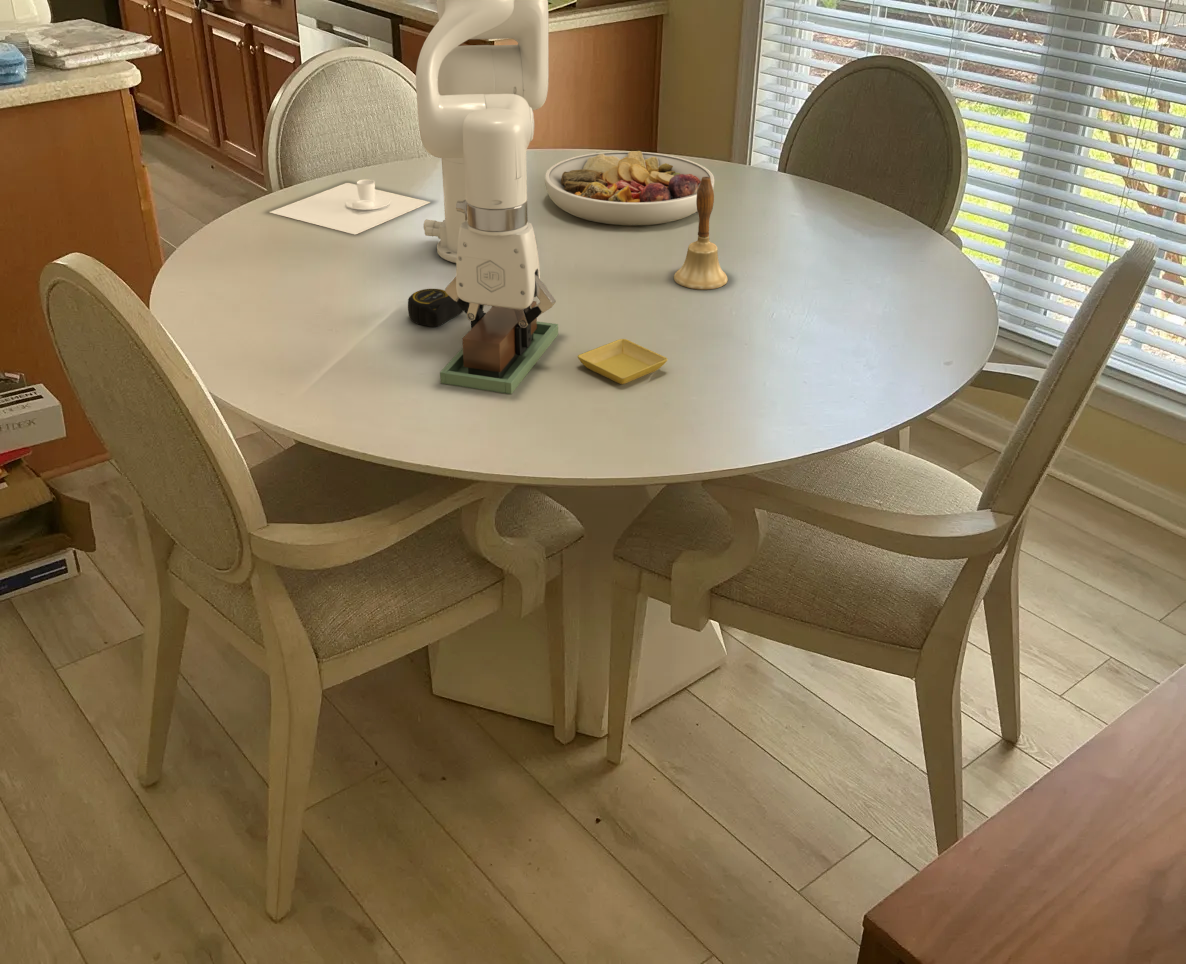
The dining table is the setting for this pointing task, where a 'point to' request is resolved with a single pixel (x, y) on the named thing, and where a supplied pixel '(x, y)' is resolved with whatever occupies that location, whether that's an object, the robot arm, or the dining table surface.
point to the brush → (493, 343)
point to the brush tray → (516, 373)
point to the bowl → (626, 187)
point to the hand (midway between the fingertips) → (501, 346)
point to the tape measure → (432, 307)
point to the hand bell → (702, 249)
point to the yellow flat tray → (622, 361)
